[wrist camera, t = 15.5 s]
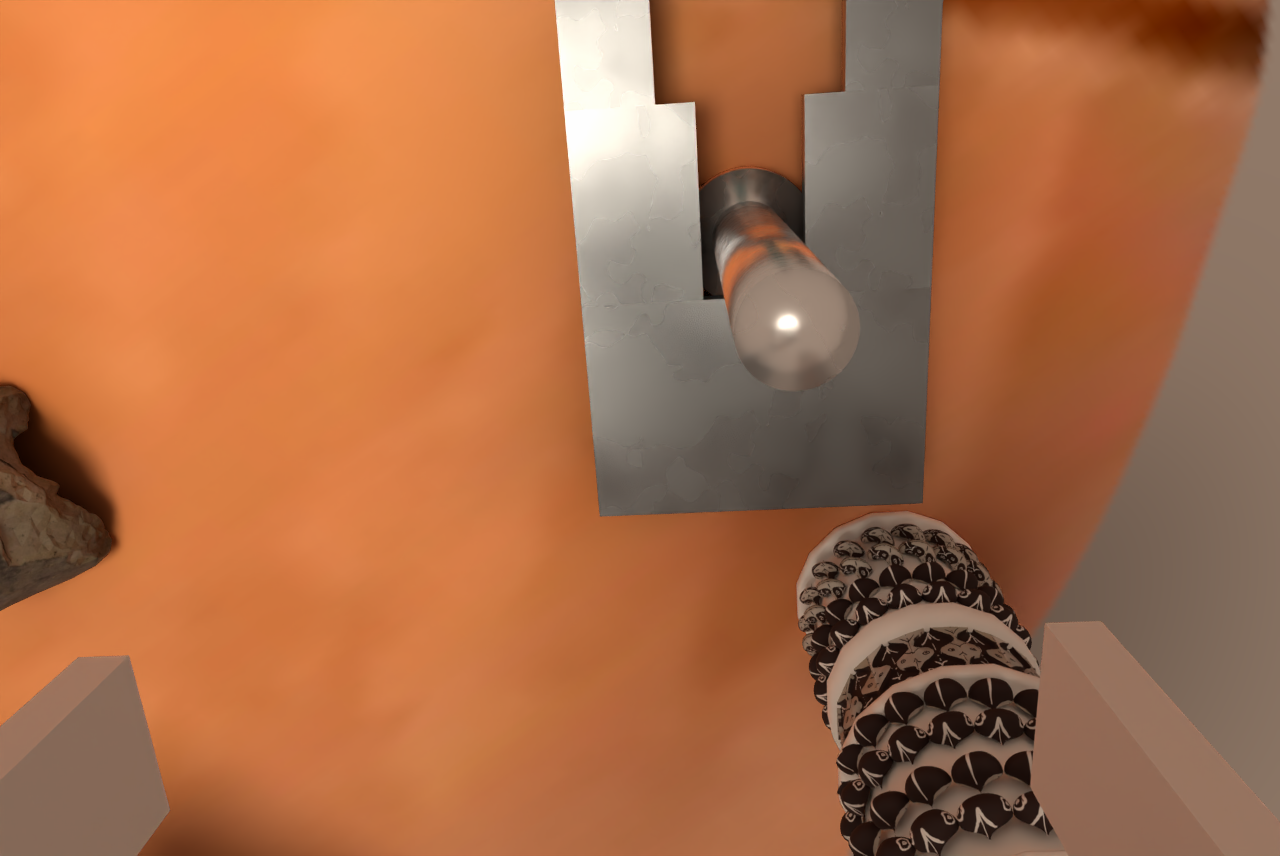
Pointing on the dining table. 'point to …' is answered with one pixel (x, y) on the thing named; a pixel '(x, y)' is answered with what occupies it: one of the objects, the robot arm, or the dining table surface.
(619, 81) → the keyhole plate
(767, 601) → the dining table surface
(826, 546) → the decorative candle
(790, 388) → the steel peg
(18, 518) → the fossil
